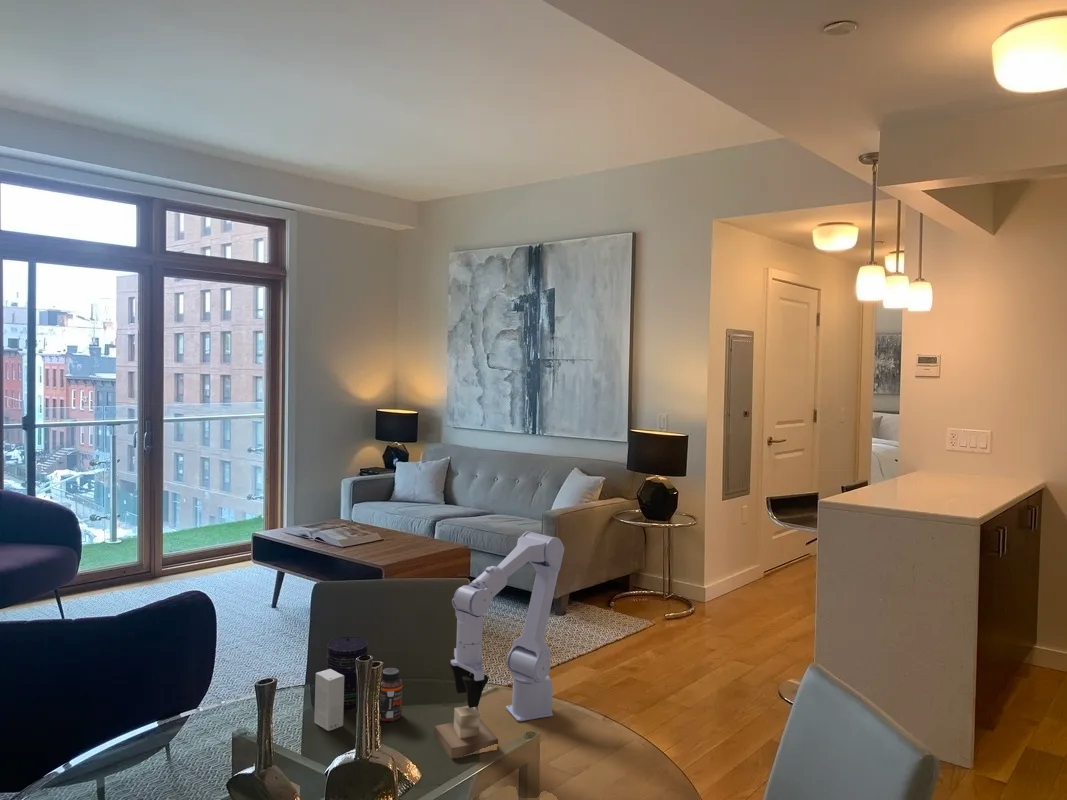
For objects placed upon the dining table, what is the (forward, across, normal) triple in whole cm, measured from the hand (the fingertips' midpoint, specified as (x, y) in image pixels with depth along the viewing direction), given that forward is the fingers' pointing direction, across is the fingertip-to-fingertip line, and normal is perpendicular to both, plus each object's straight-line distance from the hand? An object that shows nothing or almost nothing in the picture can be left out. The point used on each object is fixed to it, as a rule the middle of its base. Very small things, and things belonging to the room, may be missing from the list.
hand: (467, 699), depth 178 cm
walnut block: (+11, 0, 0) cm, 11 cm away
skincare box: (+10, -19, -27) cm, 35 cm away
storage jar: (+10, -29, -21) cm, 37 cm away
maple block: (+8, 0, 0) cm, 8 cm away
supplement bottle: (+10, -18, -13) cm, 24 cm away
